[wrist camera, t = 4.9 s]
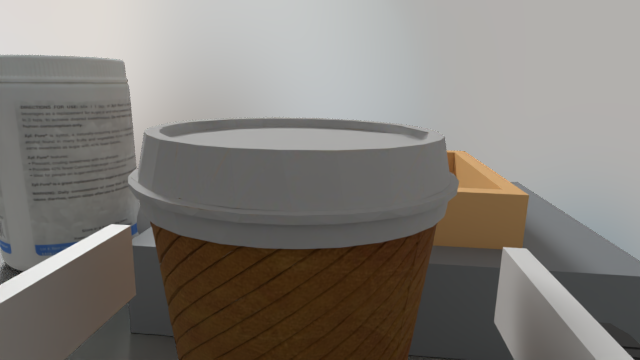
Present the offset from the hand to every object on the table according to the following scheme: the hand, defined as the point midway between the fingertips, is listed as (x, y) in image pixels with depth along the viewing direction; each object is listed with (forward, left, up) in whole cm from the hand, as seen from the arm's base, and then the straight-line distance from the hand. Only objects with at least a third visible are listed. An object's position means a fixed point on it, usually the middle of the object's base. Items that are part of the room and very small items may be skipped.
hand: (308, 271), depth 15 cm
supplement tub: (-20, +16, -7) cm, 27 cm away
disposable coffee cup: (0, -1, -7) cm, 7 cm away
